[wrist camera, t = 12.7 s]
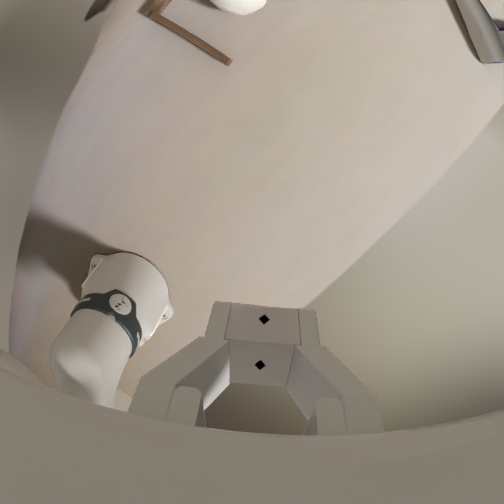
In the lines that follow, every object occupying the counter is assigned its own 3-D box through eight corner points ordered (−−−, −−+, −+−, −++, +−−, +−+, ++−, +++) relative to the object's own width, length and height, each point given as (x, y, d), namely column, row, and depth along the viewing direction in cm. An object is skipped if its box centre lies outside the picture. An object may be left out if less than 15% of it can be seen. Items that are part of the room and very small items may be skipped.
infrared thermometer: (526, 52, 28) (480, 69, 31) (498, -9, 23) (446, 0, 27) (543, 52, 24) (497, 69, 27) (513, -13, 19) (462, -6, 23)
